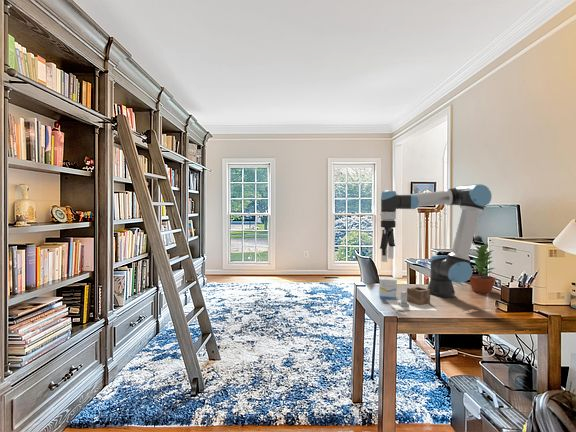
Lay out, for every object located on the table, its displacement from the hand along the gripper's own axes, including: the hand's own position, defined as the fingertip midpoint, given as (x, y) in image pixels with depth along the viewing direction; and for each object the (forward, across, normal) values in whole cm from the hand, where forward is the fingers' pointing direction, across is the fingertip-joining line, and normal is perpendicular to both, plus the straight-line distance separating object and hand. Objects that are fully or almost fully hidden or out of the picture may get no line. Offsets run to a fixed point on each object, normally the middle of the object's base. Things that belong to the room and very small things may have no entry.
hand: (387, 260), depth 187 cm
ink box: (+22, -4, -1) cm, 23 cm away
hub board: (+22, +5, +13) cm, 26 cm away
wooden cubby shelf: (+21, -3, +15) cm, 26 cm away
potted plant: (+23, -58, +43) cm, 76 cm away
